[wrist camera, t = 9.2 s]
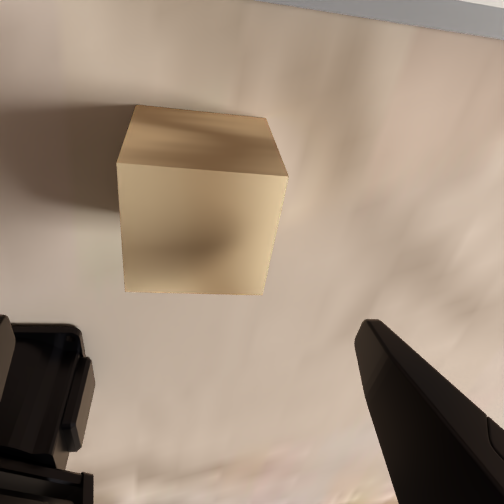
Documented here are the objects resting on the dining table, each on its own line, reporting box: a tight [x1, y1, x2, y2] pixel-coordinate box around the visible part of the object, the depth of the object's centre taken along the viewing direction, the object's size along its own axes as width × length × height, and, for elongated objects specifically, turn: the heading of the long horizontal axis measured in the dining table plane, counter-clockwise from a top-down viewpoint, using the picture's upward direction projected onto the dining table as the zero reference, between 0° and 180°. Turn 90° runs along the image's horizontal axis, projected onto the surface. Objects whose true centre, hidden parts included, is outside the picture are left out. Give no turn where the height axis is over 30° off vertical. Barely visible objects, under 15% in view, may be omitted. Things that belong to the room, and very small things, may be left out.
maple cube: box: [116, 105, 289, 295], centre depth 15 cm, size 5×5×5 cm
